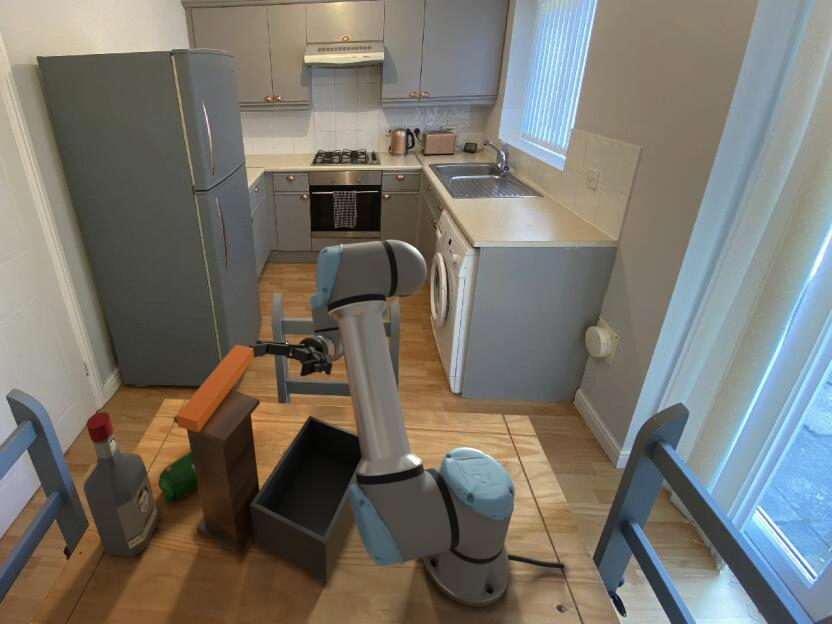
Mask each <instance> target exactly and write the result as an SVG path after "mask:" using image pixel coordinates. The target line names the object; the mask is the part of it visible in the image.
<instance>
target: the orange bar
mask: <svg viewBox="0 0 832 624" xmlns="http://www.w3.org/2000/svg"><path fill="white" fill-rule="evenodd" d="M254 359H255V357H254V353H253V348H250V347H249V346H245V345H242V344H241V345H240V344H235V345H234V346H233V347H232V348H231V349H230V351H229V352H228V353H227V354H226V356H225V357H223V359H222V360H221V361H220V362H219V364H218V365H217V366H216V367H215V369H214V370H213V371H212V372H211V373H210V375H208V377H207V378H206V379H205V381H204V382H203V383H202V384H201V385H200V386H199V388H198V389H197V390H196V391H195V392H194V394H193V395H192V396H191V397H190V398H189V400H188V401H187V402H185V404H184V405H183V407H182V408H181V409H180V410H179V412H178V413H176V415H175V416H176V418H177V423H178V424H177V423H176V424H177V427H178V428H182V429H185V430H187V429H188V430H191V431H195V432H199V431H200V430H201V428H202V427H203V426H204V424H205V423H206V422H207V420H208V419H209V418H210V416H211V415H212V414H213V412H214V411H215V410H216V408H217V407H218V406H219V404H220V403H221V402H222V400H223V399H224V397H225V396H226V395H227V393H228V392H229V391H230V389H233V387H234V386H235V384H236V383H237V381H238V380H239V379H240V378H241V376H242V375H243V374H244V372H245V370H246V369H247V368H248V367H249V365H250V364H251V362H252V361H253V360H254Z"/></svg>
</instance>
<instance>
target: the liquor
mask: <svg viewBox="0 0 832 624" xmlns="http://www.w3.org/2000/svg"><path fill="white" fill-rule="evenodd" d="M85 425H86V428H87V431H88V435H89V437H90V441H91V442H92V444H93V447H94V451H95V454H96V458H97V460H96V463H97V464H96V465H95V466H94V468H93V470H92V471H91V473H90V474H89V476H88V477H87V478H86V480H85V481H84V484H83V492H84V496H85V499H86V502H87V505H88V508H89V510H90V513H91V516H92V518H93V523H94V525H95V527H96V531H97V533H98V537H99V539H100V542H101V545H102V547H103V550H104V553H105V554H107V555H113V556H114V555H115V556H122V557H129V558H133V557H135V556H136V555H137V554H139V553H141V552H143V551H144V550H145V549H146V548H147V547H148V544H149V543H150V540H151V539H152V536H153V533H154V532H155V529H156V527H157V525H158V523H159V521H160V517H159V513H158V509H157V506H156V502H155V498H154V494H153V490H152V487H151V481H150V478H149V475H148V471H147V467H146V465H145V462H144V460H143V457H142V456H141V455H140V454H136V453H128V452H122V451H121V449H120V448H119V446H118V443H117V440H116V437H115V434H114V426H113V424H112V420H111V417H110V414H109V413H108V412H106V411H103V412H102V411H101V412H96V413H95V414H93V415H91V416H90V417H89V418H88V419H87V420H86V423H85Z"/></svg>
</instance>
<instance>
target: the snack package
mask: <svg viewBox="0 0 832 624" xmlns="http://www.w3.org/2000/svg"><path fill="white" fill-rule="evenodd" d="M158 488H159V489H160V490H161V492H162V493H163V496H164V503H165V504H167V503H170V502H172V501H179V500H181V499H183V498H184V497H186V496H187V495H188V494H190V493H191V492H192V491H195V489H198V484H197V479H196V474H195V469H194V464H193V459H192V454H191V451H189V452H188V453H186V454H184V455H182V456H181V457H179V458H178V459H176V460H175V461H173V462H172V463H170V464H168V465H167V466H166V467H165V468H163V470H162V471H161V472H160V475H159V478H158Z"/></svg>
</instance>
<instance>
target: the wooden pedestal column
mask: <svg viewBox="0 0 832 624" xmlns="http://www.w3.org/2000/svg"><path fill="white" fill-rule="evenodd" d="M260 401H261V399H259V398H256V397H255V396H252V395H248V394H246V393H243V392H241V391H238V390H235V389H233V388H231V389H230V391H229V392H228V393H227V395H226V396H225V397H224V399H223V400H222V402H221V403H220V404H219V406H218V407H217V408H216V410H215V411H214V412H213V414H212V415H211V416H210V418H209V419H208V420H207V422H206V423H205V424H204V426H203V427H202V428H201V430H200V431H199V432H195V431H191V430H188V429H186V432H187V438H188V443H189V448H190V452H191V454H192V459H193V464H194V469H195V474H196V479H197V484H198V487H197V489H198V494H199V500H200V504H201V509H202V514H203V515H202V516H203V518H202V519H201V520H200V522H199V523H198V524H197V526H196V527H195V528H196V531H197V532H198V533H199V534H201V535H203V536H205V537H206V538H208V539H210V540H211V541H213V542H215V543H216V544H218V545H220V546H222V547H224V548H225V549H227V550H229V551H230V552H232V553H234V554H235V555H237V556H239V557H241V558H243V556H244V555H245V553H246V551H247V550H248V548H249V547H250V545H251V543H252V541H253V540H254V533H253V525H252V517H251V509H250V504H251V503H252V501H253V500H254V498H255V497H256V495H257V494H258V492H259V491H260V483H259V475H258V473H259V472H258V466H257V456H256V447H255V438H254V431H253V430H254V429H253V420H252V414H253V413H254V411H255V410H256V409H257V408H258V407H259V406H260V405H261V403H260ZM173 422H174V423H175V424H177V425H178V423H177V418H176V415H175V416H174V417H173Z"/></svg>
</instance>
